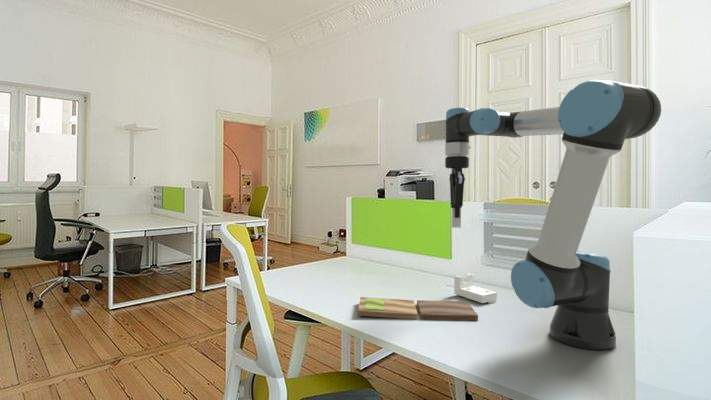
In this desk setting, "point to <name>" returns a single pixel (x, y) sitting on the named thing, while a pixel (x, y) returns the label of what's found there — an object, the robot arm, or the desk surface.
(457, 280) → the bracket
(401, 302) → the board
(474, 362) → the desk surface
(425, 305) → the walnut laid plank
